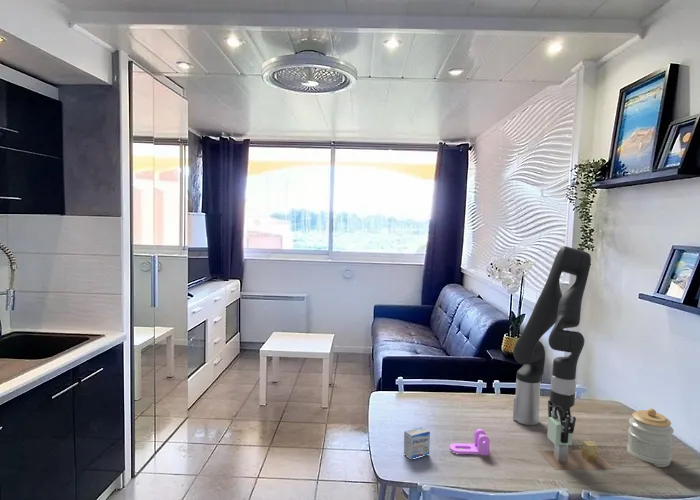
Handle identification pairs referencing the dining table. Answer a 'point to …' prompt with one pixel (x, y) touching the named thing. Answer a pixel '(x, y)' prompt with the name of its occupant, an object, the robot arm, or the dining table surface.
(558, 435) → the sage cap
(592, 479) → the dining table surface
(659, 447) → the jar
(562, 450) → the steel post
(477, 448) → the bracket
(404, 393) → the dining table surface
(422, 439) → the medicine box
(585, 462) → the walnut board
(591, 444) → the brass post
